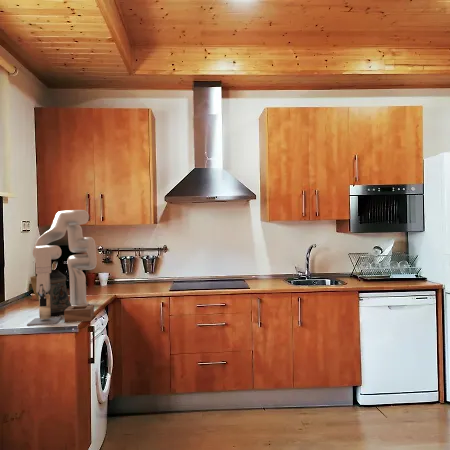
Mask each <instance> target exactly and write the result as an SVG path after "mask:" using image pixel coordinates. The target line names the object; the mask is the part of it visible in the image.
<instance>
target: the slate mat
mask: <svg viewBox="0 0 450 450" xmlns="http://www.w3.org/2000/svg"><path fill="white" fill-rule="evenodd" d="M62 319H63V317H62V316H56V317H51V318H49V319H40V317H35V318H33V319H32V320H30V321H29V322H28V323H27V324H26V326H28V327H29V326H43V325H44V326H47V325H57V324H58V323H59V322H60V321H61V320H62Z"/></svg>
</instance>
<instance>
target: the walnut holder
mask: <svg viewBox="0 0 450 450" xmlns="http://www.w3.org/2000/svg"><path fill="white" fill-rule="evenodd" d="M94 317H95V305H94V304H89V305H82V306H69V307H68V308H67V309H66V310H64V317H63V320H64V323H77V321H81V322H91V321H92V320H93V318H94Z"/></svg>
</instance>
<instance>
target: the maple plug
mask: <svg viewBox="0 0 450 450" xmlns="http://www.w3.org/2000/svg"><path fill="white" fill-rule="evenodd" d="M46 301H47V306H40V295H39V300H38V307H39V309H38V310H39V311H38V313H39V315H38V316H39V318H40V319H49V318H51V309H50V295H49V294H46Z"/></svg>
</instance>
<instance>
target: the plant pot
mask: <svg viewBox="0 0 450 450" xmlns="http://www.w3.org/2000/svg"><path fill="white" fill-rule="evenodd" d="M30 283H31V286H32V287H31V288H32V290H33V293H34V295H35V298H36V299H37V301H39V295H38V293H37V292H36V285H37V275H35V276H34V275H33V276H30Z"/></svg>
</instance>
